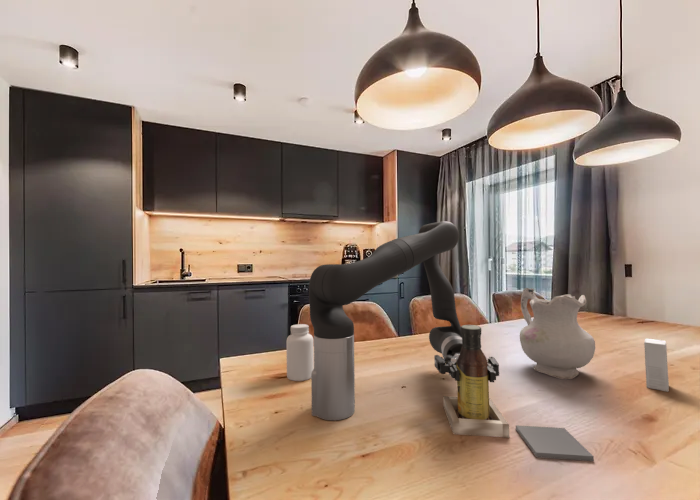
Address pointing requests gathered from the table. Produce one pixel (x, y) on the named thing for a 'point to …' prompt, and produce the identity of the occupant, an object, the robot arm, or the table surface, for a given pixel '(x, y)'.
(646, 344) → the skincare box
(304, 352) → the pill bottle
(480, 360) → the sauce bottle
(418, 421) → the table surface
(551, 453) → the coaster
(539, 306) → the ceramic pitcher
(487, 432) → the pocket frame
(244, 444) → the table surface
